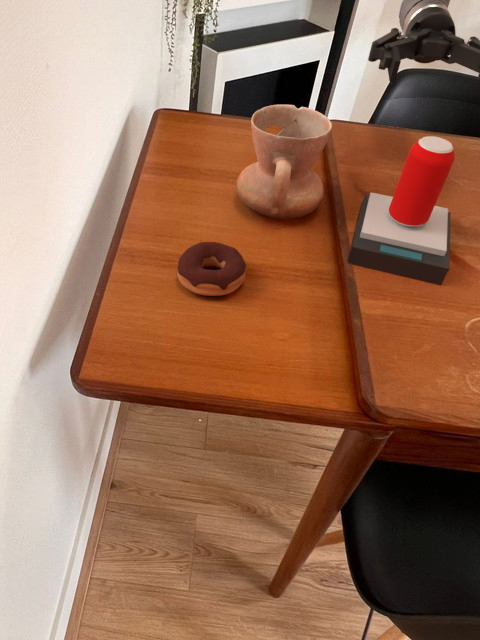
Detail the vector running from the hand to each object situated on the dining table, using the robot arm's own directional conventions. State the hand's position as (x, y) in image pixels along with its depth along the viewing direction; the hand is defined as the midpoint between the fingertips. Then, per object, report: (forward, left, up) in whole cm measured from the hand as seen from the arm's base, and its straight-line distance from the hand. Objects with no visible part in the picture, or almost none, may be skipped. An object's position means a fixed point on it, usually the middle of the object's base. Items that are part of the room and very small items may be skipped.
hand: (443, 77), depth 75 cm
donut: (-2, +38, -21) cm, 44 cm away
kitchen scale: (-8, +7, -21) cm, 24 cm away
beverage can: (-7, +6, -17) cm, 20 cm away
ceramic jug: (+10, +18, -21) cm, 30 cm away
